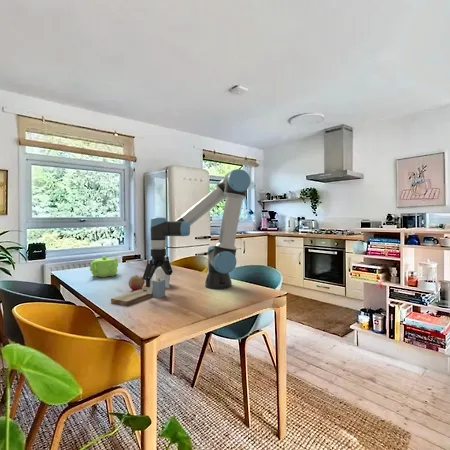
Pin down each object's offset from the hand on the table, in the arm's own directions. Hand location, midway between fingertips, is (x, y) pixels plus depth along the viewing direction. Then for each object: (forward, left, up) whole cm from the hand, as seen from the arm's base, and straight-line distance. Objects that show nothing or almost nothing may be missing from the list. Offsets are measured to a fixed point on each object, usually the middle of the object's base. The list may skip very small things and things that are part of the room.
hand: (158, 290), depth 146 cm
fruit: (+18, -4, -3) cm, 19 cm away
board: (+7, +8, -3) cm, 11 cm away
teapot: (+63, -23, -3) cm, 67 cm away
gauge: (+4, 0, -3) cm, 5 cm away
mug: (+14, -18, -3) cm, 23 cm away
